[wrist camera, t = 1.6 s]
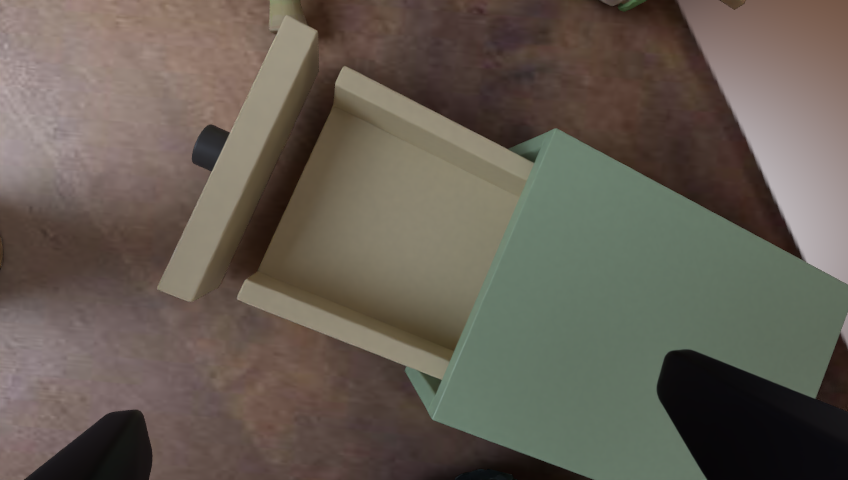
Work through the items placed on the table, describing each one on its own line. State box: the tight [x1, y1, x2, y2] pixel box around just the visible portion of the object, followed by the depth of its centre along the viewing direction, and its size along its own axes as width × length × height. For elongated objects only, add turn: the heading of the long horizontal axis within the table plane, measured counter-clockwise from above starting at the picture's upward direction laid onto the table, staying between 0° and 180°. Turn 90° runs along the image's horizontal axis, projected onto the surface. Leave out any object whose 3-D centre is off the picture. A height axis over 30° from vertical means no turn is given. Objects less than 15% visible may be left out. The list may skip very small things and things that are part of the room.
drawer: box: [157, 15, 534, 380], centre depth 19 cm, size 16×10×4 cm, turn 66°
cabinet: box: [405, 128, 848, 480], centre depth 22 cm, size 15×11×6 cm
